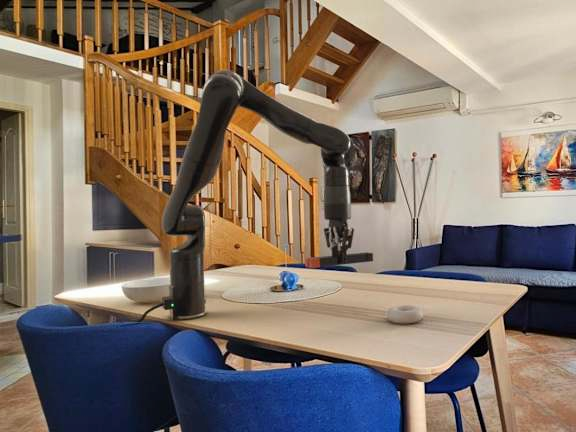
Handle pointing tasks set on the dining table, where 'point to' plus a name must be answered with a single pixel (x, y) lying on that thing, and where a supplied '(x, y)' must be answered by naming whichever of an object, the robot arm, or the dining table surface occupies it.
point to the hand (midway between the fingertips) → (339, 263)
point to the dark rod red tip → (337, 260)
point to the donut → (404, 314)
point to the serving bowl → (147, 289)
